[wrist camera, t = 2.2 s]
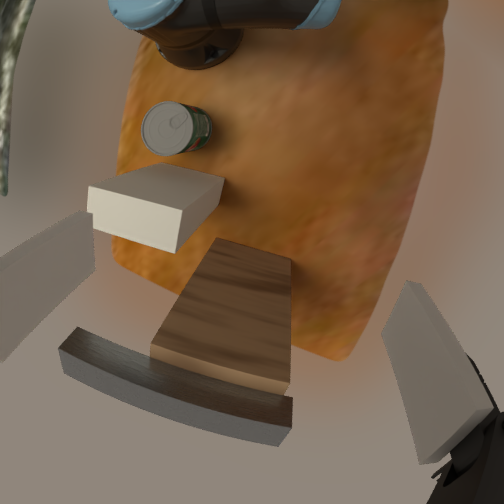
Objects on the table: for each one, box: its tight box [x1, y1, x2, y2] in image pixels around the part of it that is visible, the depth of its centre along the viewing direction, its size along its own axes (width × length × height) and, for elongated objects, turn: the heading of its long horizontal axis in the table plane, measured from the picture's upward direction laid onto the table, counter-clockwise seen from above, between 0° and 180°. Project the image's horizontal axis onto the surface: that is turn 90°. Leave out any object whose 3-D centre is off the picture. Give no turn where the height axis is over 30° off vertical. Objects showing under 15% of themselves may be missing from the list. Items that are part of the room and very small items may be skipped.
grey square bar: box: [58, 327, 293, 447], centre depth 27 cm, size 4×24×4 cm, turn 75°
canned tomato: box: [141, 101, 212, 156], centre depth 42 cm, size 8×8×11 cm
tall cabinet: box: [150, 238, 291, 395], centre depth 42 cm, size 7×14×30 cm, turn 75°
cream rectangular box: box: [87, 163, 225, 254], centre depth 41 cm, size 6×12×22 cm, turn 75°
